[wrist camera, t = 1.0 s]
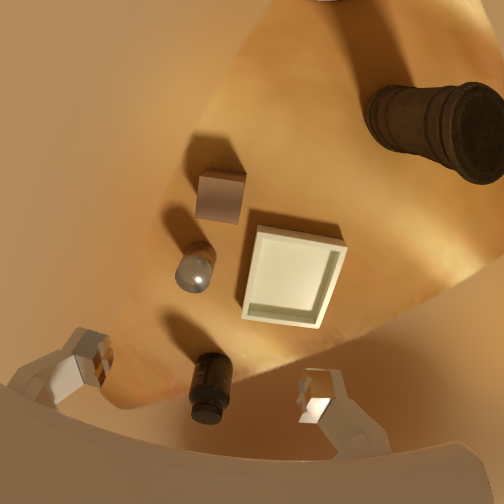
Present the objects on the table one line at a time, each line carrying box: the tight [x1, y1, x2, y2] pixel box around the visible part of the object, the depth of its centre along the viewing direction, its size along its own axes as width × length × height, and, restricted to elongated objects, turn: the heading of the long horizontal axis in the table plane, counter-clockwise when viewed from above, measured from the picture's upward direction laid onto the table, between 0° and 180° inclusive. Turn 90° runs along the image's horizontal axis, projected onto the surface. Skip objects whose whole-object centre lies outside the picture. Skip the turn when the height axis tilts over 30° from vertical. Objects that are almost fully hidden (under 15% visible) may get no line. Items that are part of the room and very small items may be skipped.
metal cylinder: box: [175, 242, 216, 293], centre depth 39 cm, size 4×4×6 cm
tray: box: [241, 225, 348, 329], centre depth 42 cm, size 14×12×2 cm
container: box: [366, 82, 504, 185], centre depth 24 cm, size 9×9×18 cm
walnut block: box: [195, 168, 247, 225], centre depth 35 cm, size 5×5×5 cm
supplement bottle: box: [189, 353, 233, 425], centre depth 46 cm, size 7×7×12 cm
